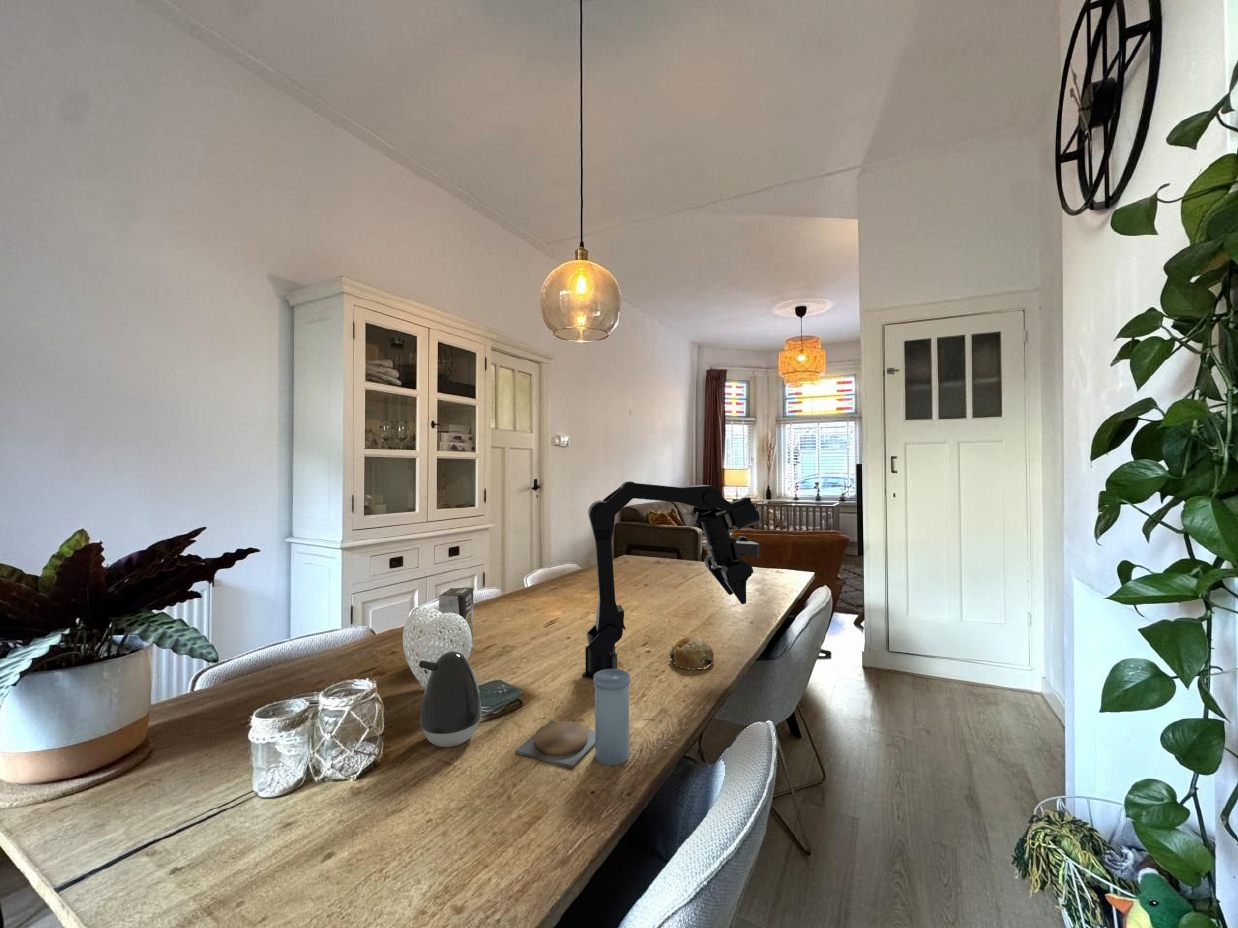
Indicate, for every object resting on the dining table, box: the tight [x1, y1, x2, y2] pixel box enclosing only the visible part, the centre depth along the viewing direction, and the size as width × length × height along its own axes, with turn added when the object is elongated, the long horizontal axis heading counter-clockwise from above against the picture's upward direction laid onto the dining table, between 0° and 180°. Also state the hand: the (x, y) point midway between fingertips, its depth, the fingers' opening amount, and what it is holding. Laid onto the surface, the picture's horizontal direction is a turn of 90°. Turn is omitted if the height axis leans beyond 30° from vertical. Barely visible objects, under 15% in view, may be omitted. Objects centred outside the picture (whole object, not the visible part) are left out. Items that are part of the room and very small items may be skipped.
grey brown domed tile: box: [515, 720, 595, 770], centre depth 87 cm, size 11×11×2 cm
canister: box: [593, 668, 631, 766], centre depth 84 cm, size 6×6×13 cm
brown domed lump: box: [668, 636, 715, 669], centre depth 124 cm, size 10×10×8 cm
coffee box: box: [438, 587, 475, 651], centre depth 132 cm, size 9×6×16 cm
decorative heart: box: [402, 606, 472, 689], centre depth 109 cm, size 18×11×17 cm, turn 56°
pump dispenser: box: [419, 651, 483, 748], centre depth 89 cm, size 10×10×15 cm
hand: (737, 599), depth 121 cm, fingers open, 9 cm apart
